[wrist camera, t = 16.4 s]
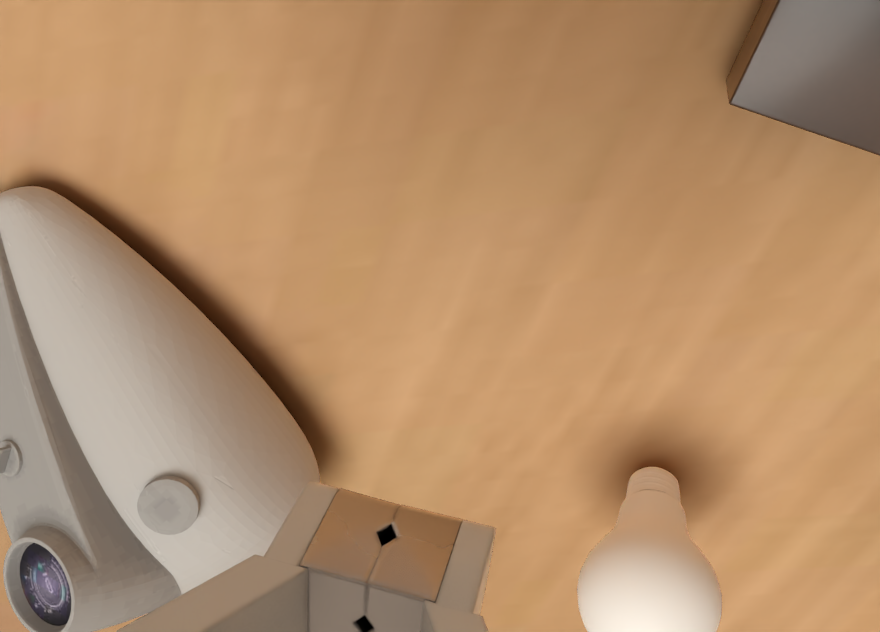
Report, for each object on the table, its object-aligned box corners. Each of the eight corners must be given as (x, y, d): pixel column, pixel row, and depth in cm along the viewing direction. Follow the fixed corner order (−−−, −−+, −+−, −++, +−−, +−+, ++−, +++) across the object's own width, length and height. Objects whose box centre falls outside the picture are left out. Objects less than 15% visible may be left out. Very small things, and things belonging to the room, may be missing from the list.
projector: (362, 254, 40) (223, 445, 28) (331, 564, 53) (225, 789, 41) (-39, 153, 43) (-321, 286, 31) (22, 469, 56) (-162, 652, 44)
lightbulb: (733, 448, 41) (747, 633, 32) (694, 533, 44) (695, 721, 35) (611, 414, 41) (590, 584, 32) (581, 499, 45) (554, 675, 36)
